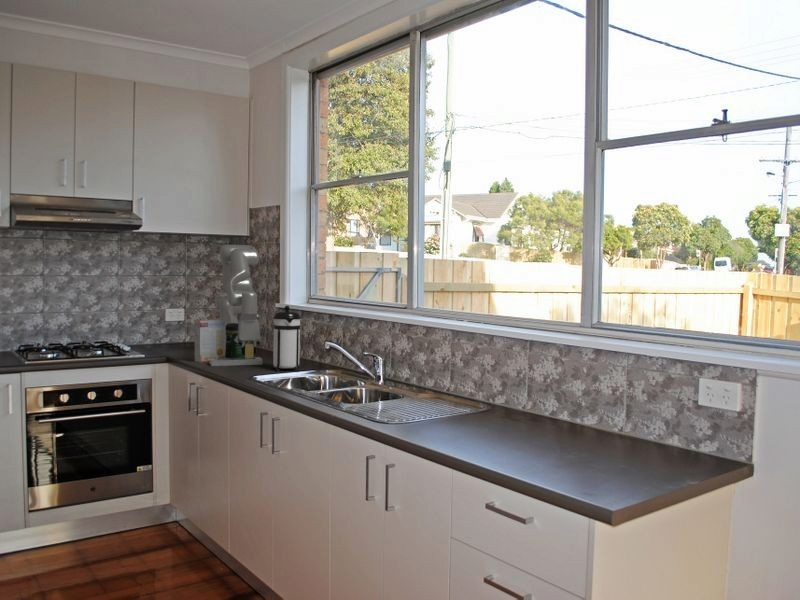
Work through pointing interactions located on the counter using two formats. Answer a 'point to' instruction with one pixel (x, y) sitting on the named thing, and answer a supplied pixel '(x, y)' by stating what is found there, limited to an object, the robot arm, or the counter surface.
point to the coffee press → (286, 339)
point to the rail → (235, 361)
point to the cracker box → (209, 339)
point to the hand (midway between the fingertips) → (248, 354)
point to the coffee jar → (232, 342)
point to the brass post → (249, 351)
